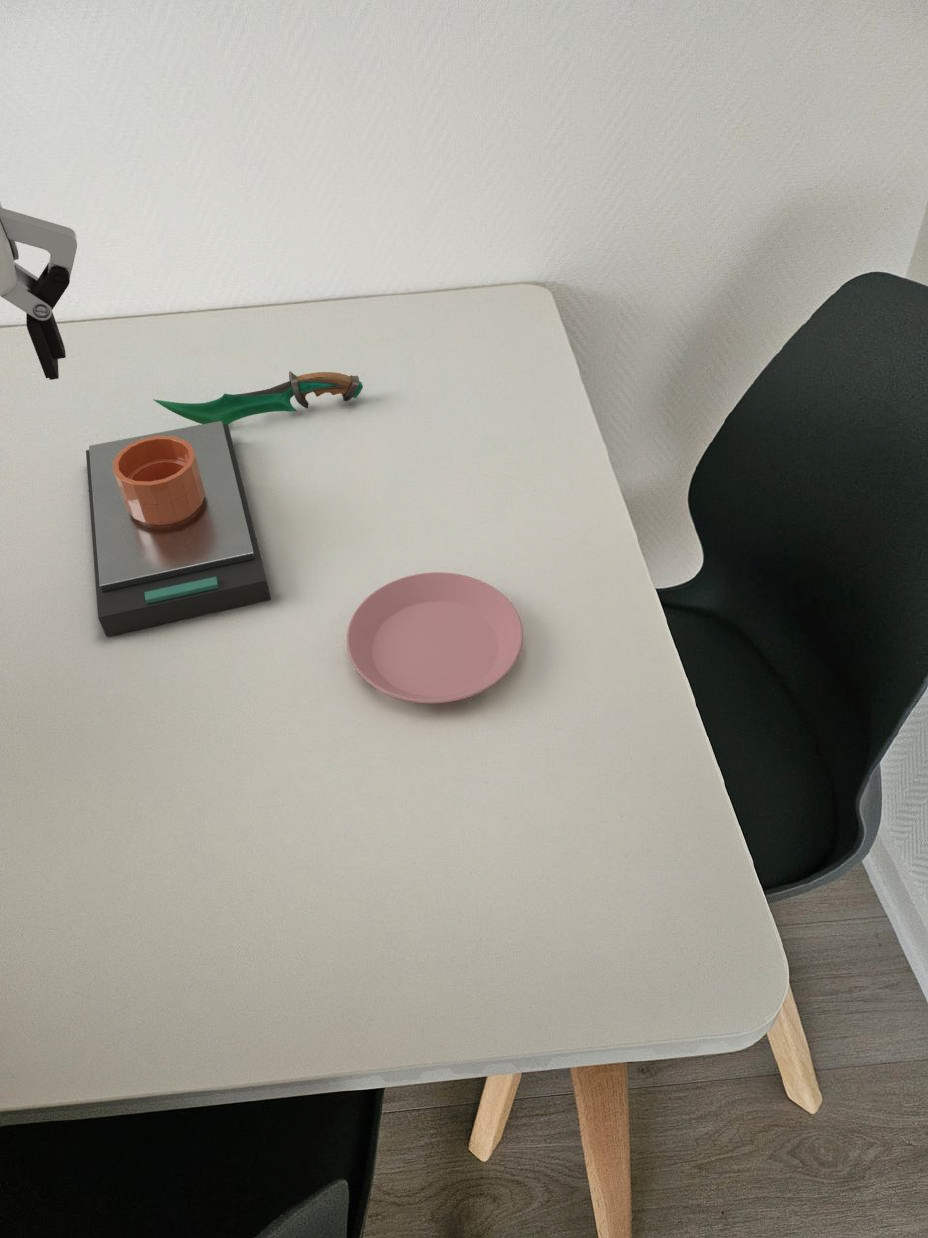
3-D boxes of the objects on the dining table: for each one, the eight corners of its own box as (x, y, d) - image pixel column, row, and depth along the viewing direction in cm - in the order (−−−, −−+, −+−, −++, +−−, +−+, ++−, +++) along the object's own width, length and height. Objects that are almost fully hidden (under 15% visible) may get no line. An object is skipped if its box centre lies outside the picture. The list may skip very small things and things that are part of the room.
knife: (361, 394, 107) (357, 354, 103) (365, 403, 106) (361, 362, 102) (163, 434, 103) (151, 393, 99) (165, 444, 101) (153, 403, 98)
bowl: (131, 536, 87) (115, 491, 83) (125, 488, 91) (110, 444, 88) (210, 519, 88) (198, 475, 85) (201, 473, 93) (189, 429, 89)
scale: (106, 637, 83) (95, 610, 81) (92, 469, 99) (83, 443, 96) (271, 599, 86) (264, 573, 83) (232, 442, 101) (226, 416, 99)
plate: (319, 690, 78) (316, 674, 77) (390, 572, 88) (388, 556, 86) (489, 738, 75) (489, 722, 73) (544, 610, 84) (544, 594, 83)
